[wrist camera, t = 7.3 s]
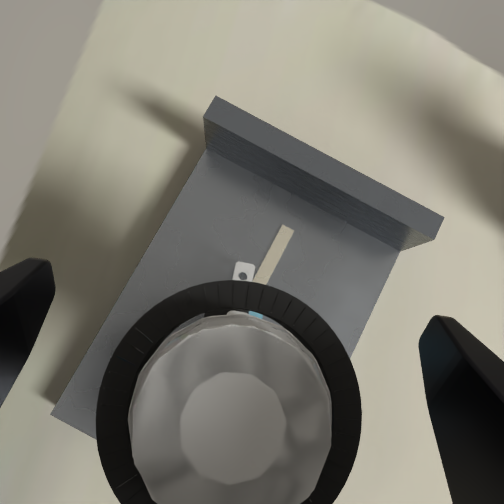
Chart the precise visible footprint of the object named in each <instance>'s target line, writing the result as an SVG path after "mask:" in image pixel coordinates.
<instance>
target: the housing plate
mask: <svg viewBox="0 0 504 504" xmlns="http://www.w3.org/2000/svg"><path fill="white" fill-rule="evenodd" d="M203 120H204V130H205V140H206V150H205V151H204V153H203V155H202V156H201V158H200V160H199V161H198V163H197V165H196V167H195V168H194V170H193V172H192V173H191V175H190V177H189V179H188V180H187V182H186V184H185V185H184V187H183V189H182V190H181V192H180V194H179V196H178V197H177V199H176V201H175V202H174V204H173V206H172V208H171V209H170V211H169V213H168V214H167V216H166V218H165V219H164V221H163V223H162V225H161V226H160V228H159V230H158V231H157V233H156V235H155V237H154V238H153V240H152V242H151V243H150V245H149V247H148V248H147V250H146V252H145V254H144V255H143V257H142V259H141V260H140V262H139V264H138V266H137V267H136V269H135V271H134V272H133V274H132V276H131V277H130V279H129V281H128V283H127V284H126V286H125V288H124V289H123V291H122V293H121V295H120V296H119V298H118V300H117V301H116V303H115V305H114V306H113V308H112V310H111V312H110V313H109V315H108V317H107V318H106V320H105V322H104V324H103V325H102V327H101V329H100V330H99V332H98V334H97V335H96V337H95V339H94V341H93V342H92V344H91V346H90V347H89V349H88V351H87V353H86V354H85V356H84V358H83V359H82V361H81V363H80V365H79V366H78V368H77V370H76V371H75V373H74V375H73V376H72V378H71V380H70V382H69V383H68V385H67V387H66V388H65V390H64V392H63V394H62V395H61V397H60V399H59V400H58V402H57V404H56V405H55V407H54V409H53V411H52V412H51V414H50V415H52V416H54V417H56V418H57V419H59V420H61V421H63V422H65V423H67V424H69V425H70V426H72V427H74V428H76V429H78V430H80V431H82V432H83V433H85V434H87V435H89V436H91V437H93V438H95V439H96V440H97V438H96V408H97V400H98V395H99V389H100V386H101V382H102V379H103V375H104V373H105V370H106V368H107V365H108V363H109V361H110V359H111V357H112V355H113V353H114V351H115V349H116V348H117V346H118V345H119V343H120V342H121V340H122V338H123V337H124V336H125V334H126V333H127V332H128V331H129V329H130V328H131V327H132V326H133V325H134V324H135V323H136V322H137V321H138V320H139V319H140V318H141V317H142V316H143V315H144V314H145V313H146V312H147V311H149V310H150V309H151V308H152V307H154V306H155V305H156V304H158V303H159V302H161V301H163V300H164V299H166V298H167V297H169V296H171V295H173V294H175V293H177V292H179V291H182V290H184V289H187V288H189V287H192V286H196V285H199V284H203V283H208V282H214V281H224V280H232V279H233V274H234V269H235V265H236V263H237V262H238V261H239V262H244V263H249V264H254V266H255V271H254V276H253V280H252V282H256V283H261V284H265V285H268V286H272V287H274V288H277V289H280V290H282V291H285V292H286V293H288V294H290V295H292V296H294V297H296V298H298V299H299V300H301V301H302V302H304V303H305V304H307V305H308V306H309V307H310V308H312V309H313V310H314V311H315V312H317V313H318V314H319V315H320V316H321V317H322V318H323V319H324V320H325V321H326V322H327V324H328V325H329V326H330V327H331V329H332V330H333V331H334V332H335V334H336V335H337V337H338V338H339V340H340V341H341V343H342V344H343V346H344V348H345V350H346V352H347V354H348V356H349V358H351V355H352V353H353V351H354V349H355V347H356V345H357V343H358V340H359V338H360V336H361V334H362V332H363V330H364V328H365V325H366V323H367V321H368V319H369V317H370V315H371V313H372V310H373V308H374V306H375V304H376V302H377V300H378V298H379V295H380V293H381V291H382V289H383V287H384V285H385V283H386V281H387V278H388V276H389V274H390V272H391V270H392V268H393V266H394V263H395V261H396V259H397V257H398V255H399V253H400V251H403V250H406V249H409V248H412V247H415V246H418V245H420V244H423V243H426V242H429V241H432V240H434V239H435V237H436V235H437V233H438V230H439V228H440V226H441V224H442V222H443V219H444V217H443V216H441V215H439V214H437V213H435V212H433V211H432V210H430V209H428V208H426V207H424V206H422V205H420V204H418V203H417V202H415V201H413V200H411V199H409V198H407V197H405V196H403V195H401V194H400V193H398V192H396V191H394V190H392V189H390V188H388V187H386V186H385V185H383V184H381V183H379V182H377V181H375V180H373V179H371V178H370V177H368V176H366V175H364V174H362V173H360V172H358V171H356V170H355V169H353V168H351V167H349V166H347V165H345V164H343V163H341V162H340V161H338V160H336V159H334V158H332V157H330V156H328V155H326V154H324V153H323V152H321V151H319V150H317V149H315V148H313V147H311V146H309V145H308V144H306V143H304V142H302V141H300V140H298V139H296V138H294V137H293V136H291V135H289V134H287V133H285V132H283V131H281V130H279V129H278V128H276V127H274V126H272V125H270V124H268V123H266V122H264V121H262V120H261V119H259V118H257V117H255V116H253V115H251V114H249V113H247V112H246V111H244V110H242V109H240V108H238V107H236V106H234V105H232V104H231V103H229V102H227V101H225V100H223V99H221V98H219V97H217V96H215V98H214V99H213V101H212V103H211V104H210V106H209V108H208V109H207V111H206V113H205V114H204V116H203ZM238 276H239V278H240V279H241V280H246V279H247V275H246V274H245V273H243V272H241V273H239V274H238ZM204 315H205V313H203V314H200V315H198V316H195V317H193V318H191V319H189V320H188V321H186V322H184V323H183V324H181V325H180V326H179V327H177V328H176V329H175V330H174V331H172V332H171V333H170V334H169V335H168V336H167V337H166V338H165V339H167V338H168V337H169V336H171V335H172V334H173V333H175V332H177V331H179V330H181V329H183V328H184V327H186V326H188V325H190V324H192V323H194V322H196V321H198V320H200V319H202V318H204ZM262 319H263V320H266V321H269V322H271V323H274V324H277V325H279V326H281V325H280V324H279V323H277V322H275V321H274V320H272V319H271V318H268V317H266V316H264V315H263V317H262ZM282 327H283V326H282ZM283 328H284V327H283ZM162 343H163V342H162ZM162 343H161V344H162ZM158 348H159V347H158Z"/></svg>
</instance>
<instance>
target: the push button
mask: <svg viewBox="0 0 504 504" xmlns="http://www.w3.org/2000/svg"><path fill="white" fill-rule="evenodd" d="M254 271H255V266H254V264H249V263H244V262H239V261H238V262H237V263H236V265H235V269H234V274H233V279H232V280H224V281H214V282H208V283H203V284H199V285H196V286H192V287H189V288H187V289H184V290H182V291H179V292H177V293H175V294H173V295H171V296H169V297H167V298H166V299H164V300H163V301H161V302H159V303H158V304H156V305H155V306H154V307H152V308H151V309H150V310H149V311H147V312H146V313H145V314H144V315H143V316H142V317H141V318H140V319H139V320H138V321H137V322H136V323H135V324H134V325H133V326H132V327H131V328H130V329H129V331H128V332H127V333H126V334H125V336H124V337H123V338H122V340H121V342H120V343H119V345H118V346H117V348H116V349H115V351H114V353H113V355H112V357H111V359H110V361H109V363H108V365H107V368H106V370H105V373H104V375H103V379H102V382H101V386H100V389H99V395H98V400H97V408H96V438H97V446H98V452H99V456H100V460H101V464H102V467H103V470H104V472H105V475H106V478H107V480H108V482H109V484H110V486H111V488H112V490H113V492H114V494H115V496H116V497H117V499H118V500H119V502H120V503H121V504H333V502H334V501H335V500H336V498H337V497H338V495H339V493H340V492H341V490H342V488H343V487H344V485H345V483H346V481H347V479H348V476H349V474H350V472H351V470H352V467H353V464H354V461H355V458H356V455H357V450H358V446H359V441H360V434H361V421H362V410H361V397H360V391H359V386H358V382H357V378H356V374H355V371H354V368H353V366H352V363H351V360H350V358H349V356H348V354H347V352H346V350H345V348H344V346H343V344H342V343H341V341H340V340H339V338H338V337H337V335H336V334H335V332H334V331H333V330H332V329H331V327H330V326H329V325H328V324H327V322H326V321H325V320H324V319H323V318H322V317H321V316H320V315H319V314H318V313H317V312H315V311H314V310H313V309H312V308H310V307H309V306H308V305H307V304H305V303H304V302H302V301H301V300H299V299H298V298H296V297H294V296H292V295H290V294H288V293H286V292H285V291H282V290H280V289H277V288H274V287H272V286H268V285H265V284H261V283H256V282H252V280H253V276H254ZM241 272H243V273H245V274H246V275H247V279H246V280H241V279H240V278H239V276H238V274H239V273H241ZM203 313H205V315H204V318H202V319H200V320H198V321H196V322H194V323H192V324H190V325H188V326H186V327H184V328H183V329H181V330H179V331H177V332H175V333H173V334H172V335H171V336H169V337H168V338H167V339H165V338H166V337H167V336H168V335H169V334H170V333H171V332H172V331H174V330H175V329H176V328H177V327H179V326H180V325H181V324H183V323H184V322H186V321H188V320H189V319H191V318H193V317H195V316H198V315H200V314H203ZM263 315H264V316H266V317H268V318H271V319H272V320H274V321H275V322H277V323H279V324H280V325H281V326H279V325H277V324H274V323H271V322H269V321H266V320H263V319H262V317H263ZM282 326H283V327H284V328H283V327H282ZM162 342H163V343H162ZM161 343H162V344H161ZM158 347H159V348H158Z"/></svg>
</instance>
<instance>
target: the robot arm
mask: <svg viewBox="0 0 504 504" xmlns="http://www.w3.org/2000/svg"><path fill="white" fill-rule="evenodd" d="M54 295H55V282H54V277H53V272H52V266H51V263H50V262H49V261H48V260H45V259H38V258H28V259H26V260H24V261H22V262H20V263H18V264H16V265H14V266H12V267H9V268H7V269H5V270H3V271H1V272H0V407H1V405H2V404H3V402H4V400H5V398H6V397H7V395H8V393H9V391H10V389H11V388H12V386H13V384H14V382H15V381H16V379H17V377H18V375H19V373H20V372H21V370H22V368H23V366H24V364H25V363H26V361H27V359H28V357H29V355H30V353H31V351H32V348H33V346H34V344H35V341H36V339H37V337H38V334H39V332H40V329H41V327H42V325H43V322H44V320H45V317H46V315H47V313H48V310H49V308H50V305H51V303H52V301H53V298H54ZM419 353H420V360H421V367H422V373H423V380H424V387H425V394H426V400H427V406H428V410H429V414H430V418H431V422H432V426H433V430H434V433H435V437H436V441H437V445H438V449H439V453H440V456H441V460H442V464H443V468H444V472H445V476H446V479H447V483H448V487H449V491H450V495H451V498H452V502H453V504H504V362H503V361H502V360H501V359H500V358H499V357H498V356H497V355H495V354H494V353H493V352H492V351H491V350H490V349H488V348H487V347H486V346H485V345H484V344H483V343H482V342H480V341H479V340H478V339H477V338H476V337H475V336H473V335H472V334H471V333H470V332H469V331H468V330H467V329H465V328H464V327H463V326H462V325H461V324H460V323H458V322H457V321H456V320H455V319H454V318H452V317H447V316H440V315H435V316H433V317H432V318H431V320H430V321H429V323H428V325H427V327H426V328H425V330H424V332H423V333H422V335H421V337H420V340H419Z"/></svg>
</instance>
